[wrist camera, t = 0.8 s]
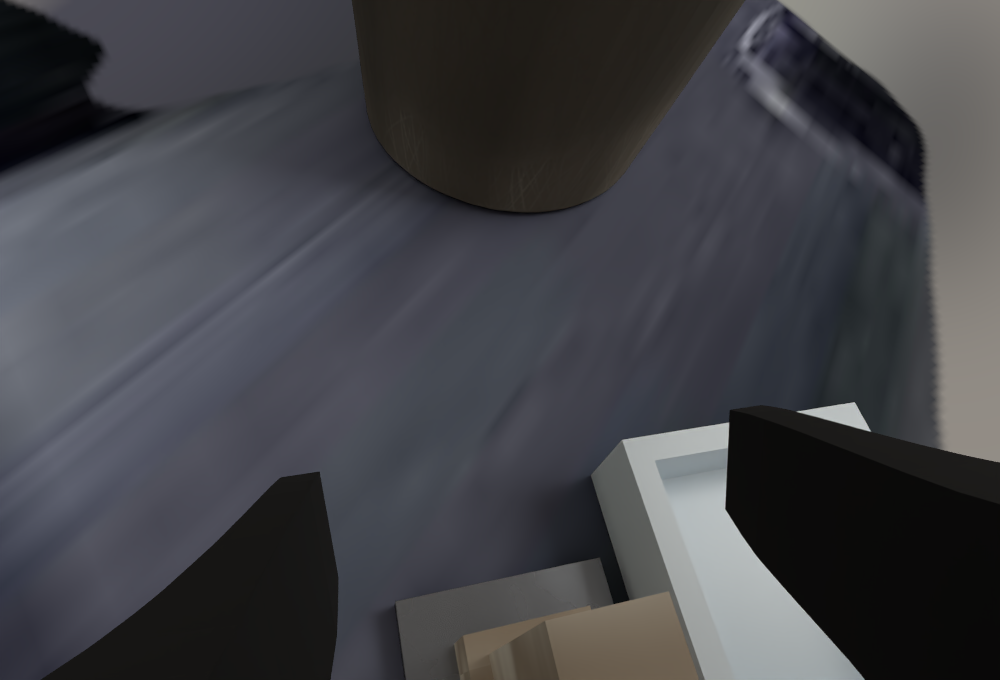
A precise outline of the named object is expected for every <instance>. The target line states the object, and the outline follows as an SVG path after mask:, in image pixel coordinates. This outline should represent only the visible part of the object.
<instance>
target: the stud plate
mask: <svg viewBox="0 0 1000 680" xmlns="http://www.w3.org/2000/svg"><path fill="white" fill-rule="evenodd" d="M609 605H613V600H612V597H611V594H610V590H609V587H608V584H607V580H606V577H605V574H604V570H603V567H602V563H601V560H600V558H595V559H590V560H586V561H581V562H576V563H572V564H567V565H563V566H558V567H553V568H549V569H544V570H539V571H535V572H530V573H525V574H521V575H516V576H511V577H507V578H502V579H497V580H493V581H488V582H483V583H479V584H474V585H470V586H465V587H460V588H456V589H451V590H446V591H442V592H437V593H432V594H428V595H423V596H418V597H414V598H409V599H404V600H400V601H395V611H396V619H397V626H398V633H399V641H400V648H401V655H402V663H403V670H404V678H405V680H460V676H459V670H458V664H457V658H456V653H455V647H454V644H455V643H456V642H457V641H458V640H459V639H460V638H461V637H462V636H463V635H467V634H472V633H476V632H480V631H484V630H488V629H493V628H497V627H501V626H505V625H510V624H514V623H518V622H522V621H526V620H531V619H535V618H539V617H543V616H548V615H552V614H556V613H560V612H564V611H569V610H573V609H577V608H581V607H586V606H590V607H591V610H592V609H597V608H601V607H605V606H609Z"/></svg>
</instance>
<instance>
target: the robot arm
mask: <svg viewBox="0 0 1000 680" xmlns="http://www.w3.org/2000/svg"><path fill="white" fill-rule="evenodd" d="M725 510H726V511H727V513H728V514H729V516H730V518H731V519H732V521H733V522H734V524H735V526H736V527H737V529H738V530H739V532H740V533H741V535H742V536H743V538H744V539H745V541H746V542H747V544H748V545H749V546H750V548H751V549H752V551H753V552H754V554H755V555H756V556H757V557H758V559H759V560H760V561H761V562H762V563H763V564H764V566H765V567H766V568H767V569H768V570H769V571H770V573H771V574H772V575H773V576H774V577H775V578H776V579H777V580H778V582H779V583H780V584H781V585H782V586H783V587H784V588H785V590H786V591H787V592H788V593H789V594H790V595H791V596H792V597H793V599H794V600H795V601H796V602H797V603H798V604H799V605H800V606H801V607H802V609H803V610H804V611H805V612H806V613H807V614H808V615H809V616H810V617H811V619H812V620H813V621H814V622H815V623H816V624H817V625H818V626H819V628H820V629H821V630H822V631H823V632H824V633H825V634H826V635H827V636H828V638H829V639H830V640H831V641H832V642H833V643H834V644H835V645H836V647H837V648H838V649H839V650H840V651H841V652H842V653H843V654H844V655H845V657H846V658H847V659H848V660H849V661H850V662H851V664H852V665H853V666H854V667H855V668H856V670H857V671H858V672H859V673H860V674H861V676H862V677H863V678H864V679H865V680H1000V463H999V462H994V461H989V460H984V459H979V458H975V457H970V456H965V455H961V454H956V453H952V452H948V451H944V450H940V449H936V448H932V447H927V446H923V445H919V444H915V443H911V442H907V441H903V440H900V439H896V438H892V437H888V436H885V435H881V434H877V433H873V432H870V431H866V430H863V429H859V428H855V427H852V426H848V425H844V424H841V423H837V422H833V421H830V420H826V419H822V418H819V417H815V416H811V415H807V414H803V413H799V412H795V411H791V410H786V409H782V408H776V407H770V406H763V405H760V406H753V407H747V408H740V409H733V410H730V416H729V438H728V459H727V480H726V501H725ZM337 617H338V573H337V567H336V562H335V556H334V550H333V545H332V539H331V534H330V528H329V522H328V517H327V511H326V506H325V500H324V494H323V489H322V483H321V478H320V472H314V473H307V474H301V475H294V476H287V477H281V478H280V479H278V480H277V481H276V482H275V483H274V484H273V485H272V486H271V487H270V488H269V489H268V490H267V491H266V492H265V493H264V494H263V495H262V496H261V497H260V498H259V499H258V500H257V501H256V502H255V503H254V504H253V505H252V506H251V508H250V509H249V510H248V511H247V512H246V513H245V514H244V515H243V516H242V517H241V518H240V519H239V520H238V521H237V522H236V523H235V524H234V525H233V526H232V527H231V528H230V529H229V530H228V531H227V532H226V533H225V534H224V535H223V536H222V537H221V538H220V539H219V540H218V541H217V542H216V543H215V544H214V545H213V546H212V547H210V548H209V549H208V550H207V551H206V552H205V553H204V554H203V555H202V556H201V557H199V558H198V559H197V560H196V561H195V562H194V563H193V564H192V565H191V566H189V567H188V568H187V569H186V570H185V571H184V572H183V573H182V574H181V575H180V576H178V577H177V578H176V579H175V580H174V581H173V582H172V583H171V584H170V585H168V586H167V587H166V588H165V589H164V590H163V591H162V592H160V593H159V594H158V595H157V596H156V597H154V598H153V599H152V600H151V601H150V602H148V603H147V604H146V605H145V606H143V607H142V608H141V609H140V610H138V611H137V612H136V613H135V614H133V615H132V616H131V617H129V618H128V619H127V620H125V621H124V622H123V623H121V624H120V625H119V626H117V627H116V628H115V629H113V630H112V631H111V632H109V633H108V634H107V635H105V636H104V637H103V638H101V639H100V640H99V641H97V642H96V643H95V644H93V645H92V646H90V647H89V648H88V649H86V650H85V651H83V652H82V653H80V654H79V655H77V656H76V657H74V658H73V659H71V660H70V661H68V662H67V663H65V664H64V665H62V666H61V667H59V668H58V669H56V670H55V671H53V672H52V673H50V674H49V675H47V676H46V677H44V678H43V679H41V680H330V679H331V672H332V665H333V658H334V652H335V645H336V638H337Z"/></svg>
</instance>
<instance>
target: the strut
mask: <svg viewBox="0 0 1000 680" xmlns="http://www.w3.org/2000/svg"><path fill="white" fill-rule="evenodd" d="M454 647H455V653H456V658H457V664H458V670H459V676H460V680H699V678H698V675H697V672H696V669H695V666H694V663H693V660H692V657H691V655H690V652H689V649H688V646H687V643H686V640H685V637H684V634H683V631H682V628H681V625H680V622H679V619H678V616H677V614H676V611H675V608H674V605H673V602H672V599H671V596H670V593H669V591H668V592H664V593H659V594H655V595H651V596H647V597H643V598H638V599H634V600H630V601H626V602H622V603H618V604H613V605H609V606H605V607H601V608H597V609H592V610H591V607H590V606H586V607H581V608H577V609H573V610H569V611H564V612H560V613H556V614H552V615H548V616H543V617H539V618H535V619H531V620H526V621H522V622H518V623H514V624H510V625H505V626H501V627H497V628H493V629H488V630H484V631H480V632H476V633H472V634H467V635H463V636H462V637H461V638H460V639H459V640H458V641H457V642H456V643H455V644H454Z"/></svg>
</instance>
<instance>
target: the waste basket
mask: <svg viewBox="0 0 1000 680" xmlns="http://www.w3.org/2000/svg"><path fill="white" fill-rule="evenodd" d="M744 1H745V0H352V5H353V11H354V19H355V25H356V33H357V40H358V49H359V56H360V64H361V72H362V79H363V86H364V93H365V100H366V107H367V114H368V117H369V120H370V124H371V127H372V129H373V131H374V133H375V135H376V137H377V139H378V140H379V142H380V143H381V145H382V146H383V147H384V149H385V150H386V152H387V153H388V154H389V155H390V156H391V157H392V158H393V159H394V160H395V161H396V162H397V163H398V164H399V165H400V166H401V167H403V168H404V169H405V170H406V171H407V172H408V173H409V174H411V175H412V176H413V177H415V178H416V179H418V180H419V181H421V182H422V183H424V184H426V185H427V186H429V187H431V188H433V189H435V190H437V191H438V192H441V193H443V194H446V195H448V196H451V197H453V198H456V199H458V200H461V201H464V202H467V203H470V204H473V205H477V206H481V207H485V208H489V209H494V210H501V211H512V212H546V211H553V210H559V209H564V208H569V207H572V206H575V205H579V204H581V203H583V202H586V201H588V200H591V199H593V198H595V197H597V196H599V195H600V194H602V193H603V192H605V191H606V190H608V189H609V188H610V187H611V186H613V185H614V184H615V183H616V182H617V181H618V180H619V179H620V178H621V176H622V175H623V174H624V173H625V172H626V170H627V169H628V167H629V166H630V164H631V163H632V161H633V160H634V159H635V157H636V156H637V154H638V153H639V152H640V150H641V149H642V147H643V146H644V144H645V143H646V142H647V140H648V139H649V137H650V136H651V135H652V133H653V132H654V130H655V129H656V127H657V126H658V125H659V123H660V122H661V120H662V119H663V117H664V116H665V115H666V113H667V112H668V110H669V109H670V108H671V106H672V105H673V103H674V102H675V100H676V99H677V98H678V96H679V95H680V93H681V92H682V90H683V89H684V87H685V86H686V85H687V83H688V82H689V80H690V79H691V77H692V76H693V74H694V73H695V72H696V70H697V69H698V67H699V66H700V64H701V63H702V62H703V60H704V59H705V57H706V56H707V54H708V53H709V51H710V50H711V49H712V47H713V46H714V44H715V43H716V41H717V40H718V38H719V37H720V36H721V34H722V33H723V31H724V30H725V28H726V27H727V26H728V24H729V23H730V21H731V20H732V18H733V17H734V16H735V14H736V13H737V11H738V10H739V8H740V7H741V6H742V4H743V3H744Z"/></svg>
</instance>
